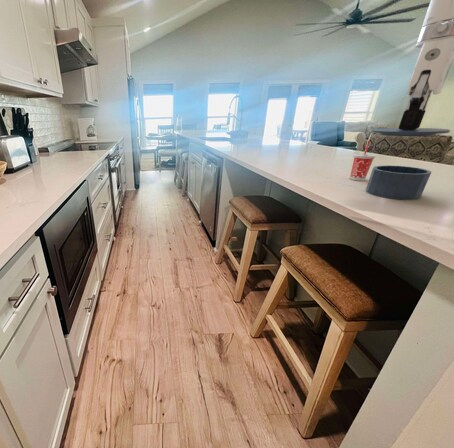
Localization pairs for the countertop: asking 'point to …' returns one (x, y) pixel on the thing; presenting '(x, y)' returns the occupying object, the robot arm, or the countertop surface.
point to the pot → (398, 182)
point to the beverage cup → (361, 165)
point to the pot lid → (410, 131)
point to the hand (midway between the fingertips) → (408, 128)
